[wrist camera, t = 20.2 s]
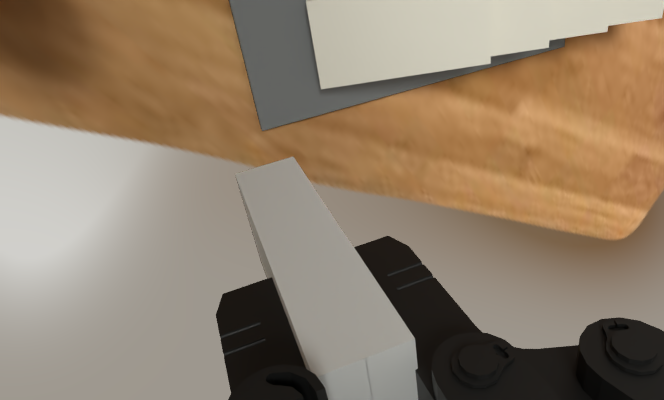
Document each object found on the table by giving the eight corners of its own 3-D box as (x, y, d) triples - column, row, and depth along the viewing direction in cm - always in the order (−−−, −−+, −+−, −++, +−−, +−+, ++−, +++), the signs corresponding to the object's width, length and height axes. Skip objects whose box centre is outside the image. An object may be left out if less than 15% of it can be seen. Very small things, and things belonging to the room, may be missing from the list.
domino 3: (443, 56, 37) (607, 31, 36) (440, -30, 34) (619, -59, 33) (439, 50, 39) (597, 26, 38) (436, -33, 36) (608, -61, 35)
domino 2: (382, 72, 36) (548, 47, 35) (373, -14, 33) (555, -45, 32) (380, 66, 38) (540, 41, 37) (371, -18, 35) (546, -47, 34)
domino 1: (320, 89, 35) (490, 63, 34) (305, 1, 32) (491, -30, 31) (321, 82, 37) (484, 57, 36) (306, -3, 34) (485, -33, 33)
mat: (261, 128, 37) (262, 130, 37) (221, -28, 32) (222, -28, 31) (560, 45, 43) (564, 46, 42) (572, -102, 37) (577, -102, 37)
